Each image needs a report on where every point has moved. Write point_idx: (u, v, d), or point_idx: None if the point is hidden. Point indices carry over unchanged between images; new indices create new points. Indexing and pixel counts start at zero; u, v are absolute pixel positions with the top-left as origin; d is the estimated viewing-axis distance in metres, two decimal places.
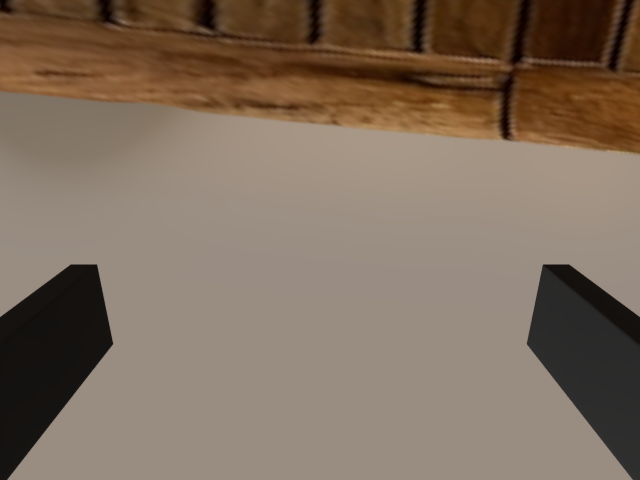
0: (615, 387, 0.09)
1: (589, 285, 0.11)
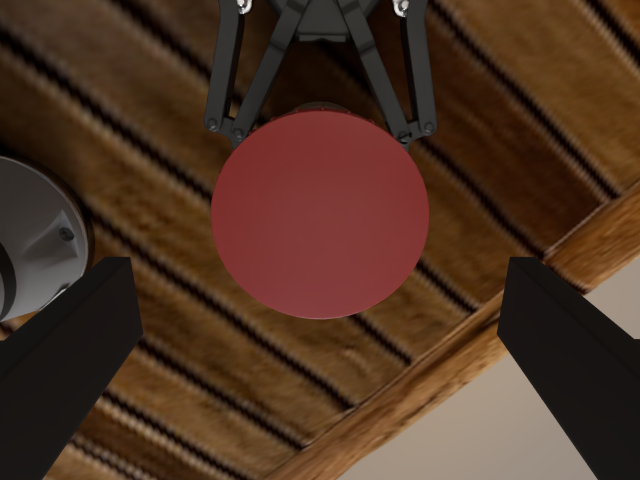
0: (568, 371, 0.10)
1: (550, 276, 0.11)
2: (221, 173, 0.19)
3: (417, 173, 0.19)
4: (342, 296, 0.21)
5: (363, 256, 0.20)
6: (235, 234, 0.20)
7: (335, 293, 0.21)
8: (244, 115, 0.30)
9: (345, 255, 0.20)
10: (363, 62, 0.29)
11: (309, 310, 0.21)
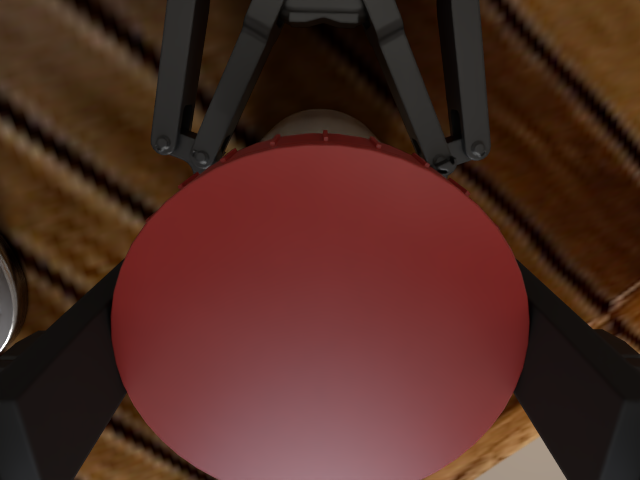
0: (532, 360, 0.10)
1: (520, 269, 0.12)
2: (125, 264, 0.10)
3: (512, 265, 0.10)
4: (360, 468, 0.12)
5: (400, 407, 0.11)
6: (160, 371, 0.11)
7: (347, 464, 0.12)
8: (209, 132, 0.20)
9: (366, 404, 0.11)
10: (384, 54, 0.19)
11: None
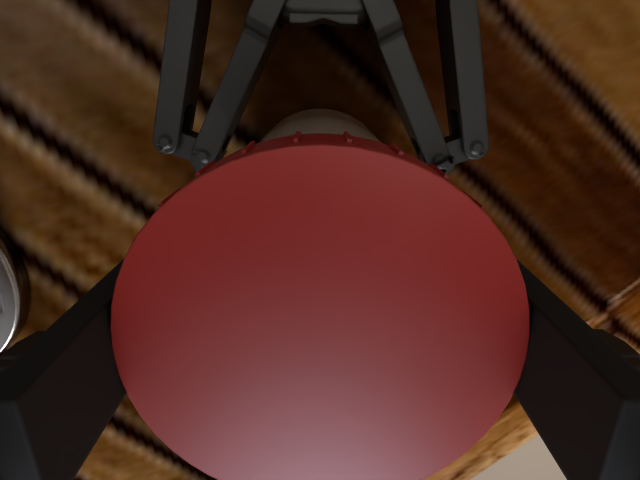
0: (532, 360, 0.10)
1: (520, 269, 0.12)
2: (186, 458, 0.12)
3: (276, 154, 0.09)
4: (479, 358, 0.10)
5: (414, 302, 0.10)
6: (291, 473, 0.12)
7: (467, 368, 0.11)
8: (210, 131, 0.21)
9: (397, 332, 0.10)
10: (384, 54, 0.19)
11: (479, 417, 0.11)
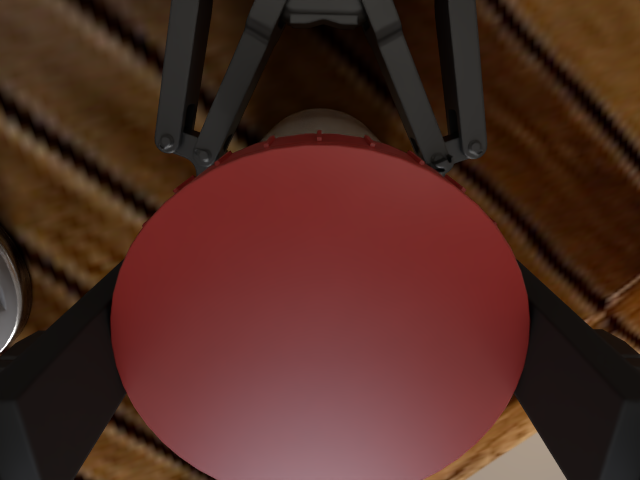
0: (532, 360, 0.10)
1: (520, 269, 0.12)
2: None
3: (114, 330, 0.10)
4: (383, 210, 0.09)
5: (289, 259, 0.10)
6: (452, 419, 0.11)
7: (392, 225, 0.09)
8: (212, 130, 0.21)
9: (319, 282, 0.10)
10: (383, 54, 0.20)
11: (466, 225, 0.09)
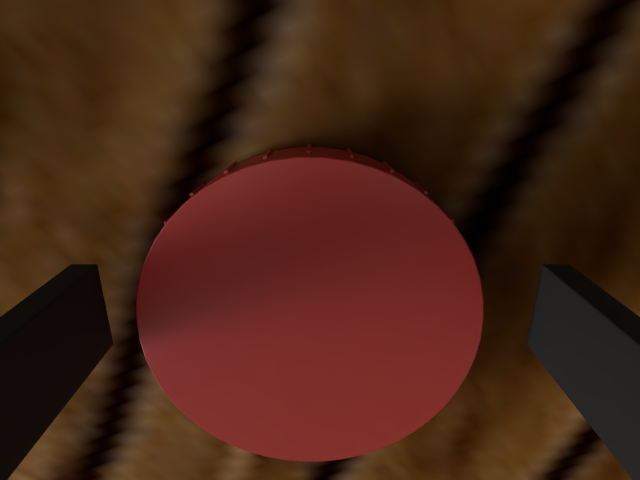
0: (614, 387, 0.09)
1: (589, 285, 0.11)
2: (374, 449, 0.14)
3: (139, 310, 0.12)
4: (361, 209, 0.11)
5: (284, 250, 0.12)
6: (422, 385, 0.13)
7: (368, 221, 0.11)
8: None
9: (309, 269, 0.12)
10: None
11: (428, 222, 0.11)
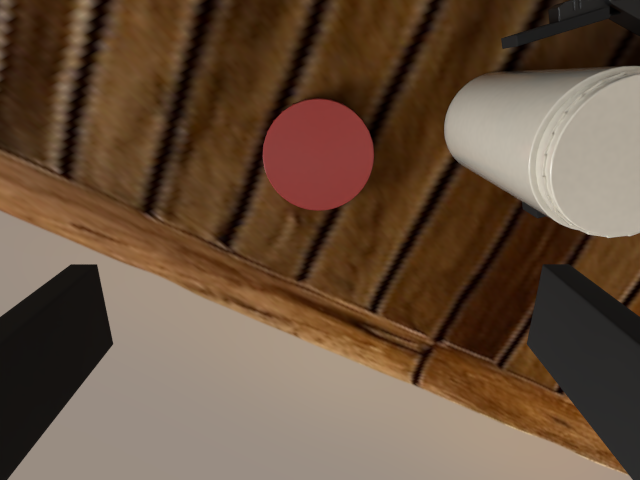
0: (614, 387, 0.09)
1: (589, 285, 0.11)
2: (340, 205, 0.41)
3: (264, 149, 0.39)
4: (333, 115, 0.38)
5: (310, 128, 0.38)
6: (355, 178, 0.40)
7: (335, 119, 0.38)
8: (633, 1, 0.30)
9: (318, 135, 0.38)
10: None
11: (354, 119, 0.38)
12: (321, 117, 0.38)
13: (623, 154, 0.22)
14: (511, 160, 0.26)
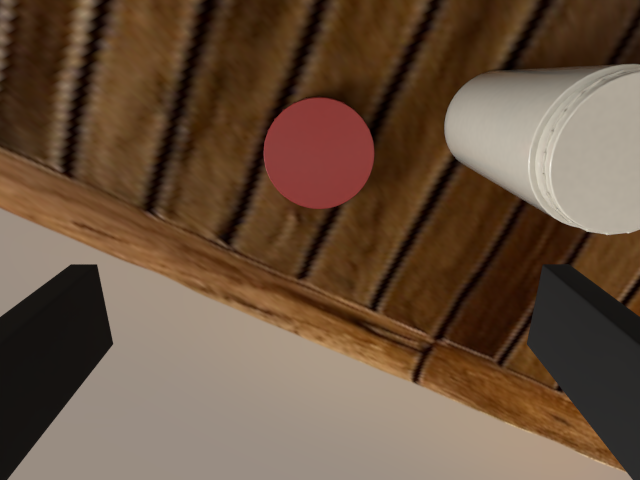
0: (614, 387, 0.09)
1: (589, 285, 0.11)
2: (340, 203, 0.41)
3: (265, 148, 0.39)
4: (334, 114, 0.38)
5: (311, 127, 0.38)
6: (356, 177, 0.40)
7: (336, 118, 0.38)
8: None
9: (318, 133, 0.38)
10: None
11: (354, 118, 0.38)
12: (322, 116, 0.38)
13: (622, 151, 0.22)
14: (511, 158, 0.26)
